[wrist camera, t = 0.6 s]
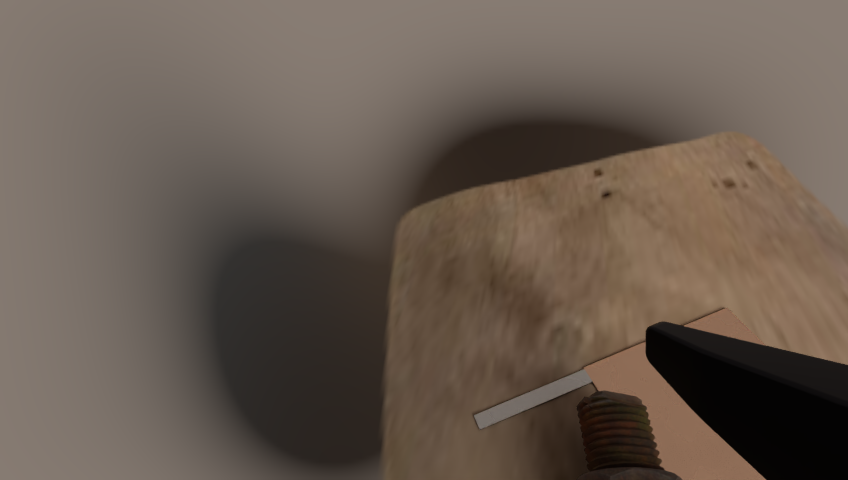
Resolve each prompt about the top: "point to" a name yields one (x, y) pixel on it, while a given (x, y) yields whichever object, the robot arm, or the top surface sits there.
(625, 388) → the seat and pad
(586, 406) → the bolt
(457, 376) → the top surface
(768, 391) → the robot arm
